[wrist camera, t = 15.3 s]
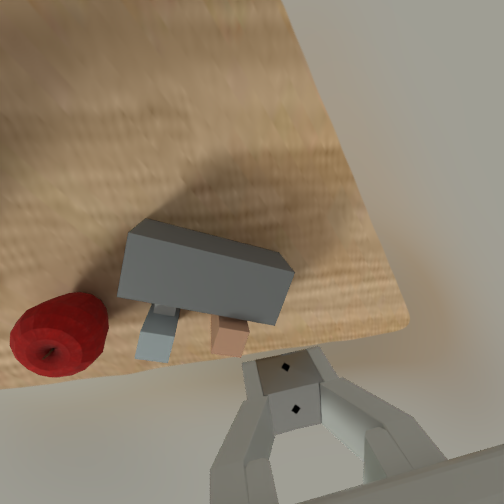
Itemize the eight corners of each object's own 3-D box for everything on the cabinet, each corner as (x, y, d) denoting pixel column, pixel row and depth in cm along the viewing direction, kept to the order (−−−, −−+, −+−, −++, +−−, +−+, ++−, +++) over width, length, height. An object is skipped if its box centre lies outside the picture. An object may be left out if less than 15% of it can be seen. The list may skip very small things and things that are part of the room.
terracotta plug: (210, 315, 41) (211, 353, 33) (227, 258, 39) (232, 284, 30) (234, 319, 42) (240, 357, 34) (252, 264, 40) (264, 291, 31)
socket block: (135, 270, 37) (116, 296, 30) (145, 218, 35) (128, 232, 28) (263, 297, 42) (274, 325, 34) (278, 252, 40) (294, 272, 32)
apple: (34, 296, 36) (-35, 347, 26) (95, 267, 36) (51, 307, 26) (78, 346, 40) (33, 408, 29) (134, 320, 40) (108, 373, 30)
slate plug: (150, 317, 40) (134, 358, 31) (163, 259, 37) (150, 286, 29) (176, 322, 41) (167, 363, 32) (191, 265, 38) (185, 294, 30)
